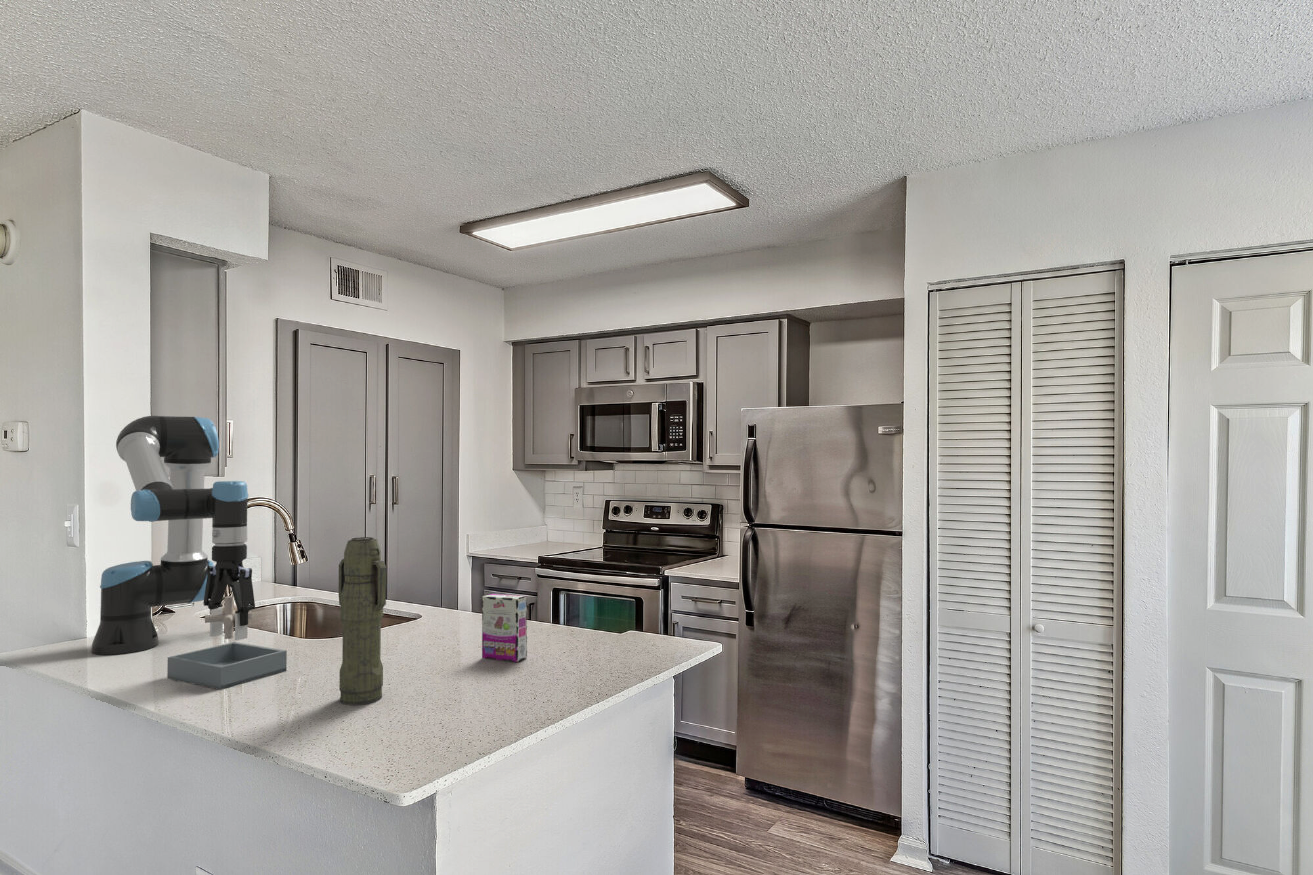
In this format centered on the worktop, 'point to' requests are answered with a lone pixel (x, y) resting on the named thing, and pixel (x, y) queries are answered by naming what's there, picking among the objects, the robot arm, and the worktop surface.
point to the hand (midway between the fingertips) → (228, 637)
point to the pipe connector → (226, 617)
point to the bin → (226, 665)
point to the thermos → (361, 621)
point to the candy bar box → (504, 627)
